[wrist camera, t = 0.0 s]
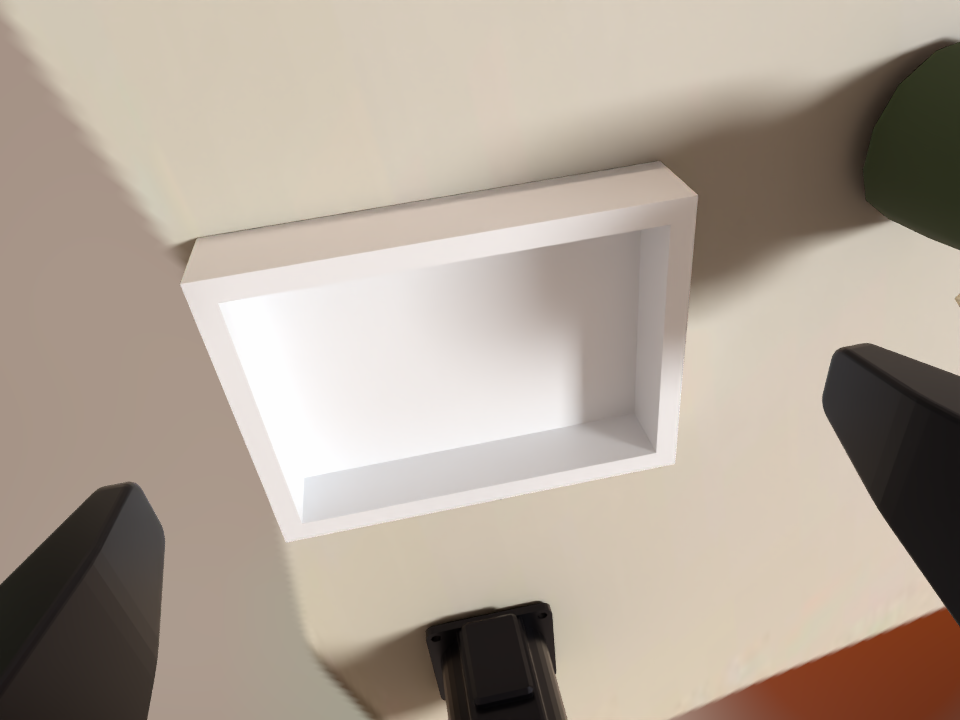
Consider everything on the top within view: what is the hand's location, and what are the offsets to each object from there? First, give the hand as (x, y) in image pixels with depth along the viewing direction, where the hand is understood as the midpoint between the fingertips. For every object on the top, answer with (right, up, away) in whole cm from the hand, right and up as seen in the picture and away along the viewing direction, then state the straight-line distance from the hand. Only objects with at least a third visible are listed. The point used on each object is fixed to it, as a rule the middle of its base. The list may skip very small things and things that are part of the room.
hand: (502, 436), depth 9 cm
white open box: (-1, +2, +17) cm, 17 cm away
